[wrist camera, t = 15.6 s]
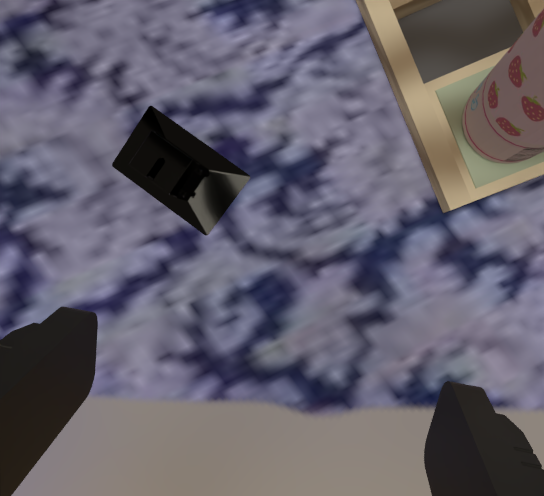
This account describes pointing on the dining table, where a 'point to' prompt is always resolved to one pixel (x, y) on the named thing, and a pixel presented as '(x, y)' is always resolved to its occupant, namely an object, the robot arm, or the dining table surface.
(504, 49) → the board
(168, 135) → the black open box
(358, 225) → the dining table surface
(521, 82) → the beverage can
